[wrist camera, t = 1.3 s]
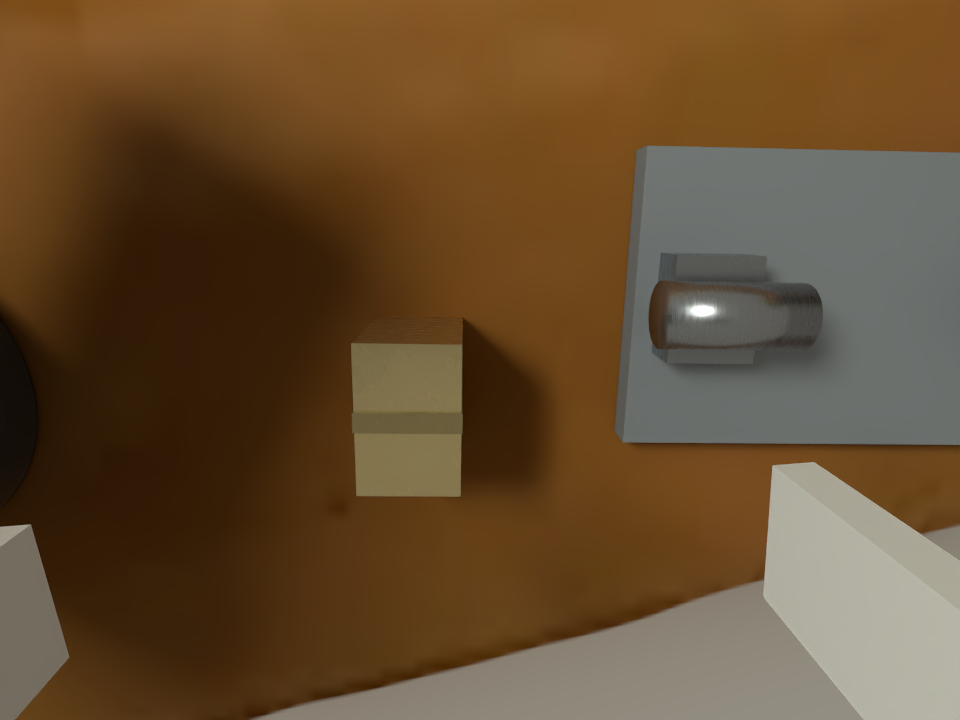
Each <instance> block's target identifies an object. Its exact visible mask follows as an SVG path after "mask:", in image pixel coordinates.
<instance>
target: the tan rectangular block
mask: <svg viewBox="0 0 960 720" xmlns="http://www.w3.org/2000/svg"><path fill="white" fill-rule="evenodd" d="M351 359H352V386H353V411H352V433H354V441H355V468H356V496H448V497H461V446H462V434H463V372H462V360H463V318H444V317H376V318H375V319H374V320H373V321H372V322H371V323H370V324H369V325H368V326H367V327H366V328H365V329H364V330H363V331H362V332H361V333H360V334H359V335H358V336H357V337H356V339H355V340H354V341H353V342H352V343H351Z"/></svg>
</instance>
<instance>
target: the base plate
mask: <svg viewBox="0 0 960 720" xmlns="http://www.w3.org/2000/svg"><path fill="white" fill-rule="evenodd" d="M660 253H716V254H748V255H757V256H766V257H767V263H766V270H765V278H764V282H777V283H808V284H810V285H812V286H813V287H814V288H815V289H816V290H817V292H818V293H819V295H820V298H821V301H822V307H823V321H822V327H821V330H820V333H819V336H818V338H817V340H816V341H815V343H814V344H813V345H812V346H811V347H810V348H808V349H807V350H804V351H768V350H755V351H754V359H753V364H693V363H666V362H664V361H663V360H662V359H660V358H659V357H657V356H656V355H654V354H653V353H651V351H652V341H651V337H650V332H649V323H648V315H649V304H650V299H651V295H652V292H653V289H654V287H655V285H656V284H657V283H658V275H659V264H660ZM615 432H616V434H617V435H618V436H619V438H620V439H621V440H622V442H641V443H777V444H912V445H960V153H943V152H899V151H855V150H811V149H767V148H723V147H679V146H646V147H643V148H641V149H639V150H637V152H636V164H635V177H634V190H633V202H632V215H631V228H630V241H629V253H628V266H627V279H626V292H625V304H624V317H623V330H622V343H621V355H620V368H619V381H618V393H617V406H616V419H615Z"/></svg>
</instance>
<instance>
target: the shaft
mask: <svg viewBox="0 0 960 720" xmlns="http://www.w3.org/2000/svg"><path fill="white" fill-rule="evenodd" d="M766 263H767V257H766V256H757V255H748V254H716V253H660V264H659V275H658V283H657V284H656V285H655V287H654V289H653V292H652V295H651V299H650V304H649V315H648V323H649V332H650V337H651V341H652V351H651V353H653V354H654V355H656V356H657V357H659V358H660V359H662V360H663V361H664V362H666V363H693V364H753V359H754V351H755V350H768V351H804V350H807V349H808V348H810V347H811V346H812V345H813V344H814V343H815V341H816V340H817V338H818V336H819V333H820V330H821V327H822V321H823V307H822V301H821V298H820V295H819V293H818V292H817V290H816V289H815V288H814V287H813V286H812V285H810V284H808V283H777V282H764V278H765V270H766Z"/></svg>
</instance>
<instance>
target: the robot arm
mask: <svg viewBox="0 0 960 720" xmlns="http://www.w3.org/2000/svg"><path fill="white" fill-rule="evenodd" d="M36 432H37V412H36V403H35V396H34V392H33V387H32V383H31V380H30V376H29V373H28V371H27V368H26V365H25V363H24V360H23V358H22V356H21V354H20V352H19V350H18V348H17V346H16V344H15V342H14V340H13V339H12V337H11V336H10V334H9V332H8V331H7V329H6V328H5V326H4V325H3V324H2V322H1V321H0V508H1V507H2V506H3V505H4V504H5V503H6V502H7V501H8V500H9V498H10V497H11V496H12V495H13V493H14V492H15V491H16V490H17V488H18V486H19V485H20V483H21V482H22V480H23V478H24V476H25V474H26V472H27V469H28V467H29V464H30V462H31V458H32V455H33V451H34V446H35V441H36ZM763 597H764V599H765V600H766V601H767V602H768V604H769V605H770V606H771V607H772V608H773V610H774V611H775V612H776V613H777V615H778V616H779V617H780V618H781V619H782V621H783V622H784V623H785V624H786V626H787V627H788V628H789V629H790V630H791V632H792V633H793V634H794V635H795V637H796V638H797V639H798V640H799V641H800V643H801V644H802V645H803V646H804V648H805V649H806V650H807V651H808V652H809V654H810V655H811V656H812V657H813V659H814V660H815V661H816V662H817V663H818V665H819V666H820V667H821V668H822V670H823V671H824V672H825V673H826V674H827V676H828V677H829V678H830V679H831V680H832V682H833V683H834V684H835V685H836V686H837V688H838V689H839V690H840V691H841V693H842V694H843V695H844V696H845V697H846V699H847V700H848V701H849V702H850V704H851V705H852V706H853V707H854V709H855V710H856V711H857V712H858V713H859V715H860V716H861V717H862V718H863V720H960V561H959V560H958V559H956V558H955V557H953V556H952V555H950V554H949V553H948V552H946V551H945V550H943V549H942V548H940V547H939V546H937V545H935V544H934V543H933V542H931V541H930V540H928V539H927V538H925V537H924V536H922V535H921V534H920V533H918V532H917V531H915V530H914V529H912V528H911V527H909V526H908V525H906V524H905V523H903V522H902V521H900V520H899V519H897V518H896V517H894V516H893V515H891V514H890V513H888V512H887V511H886V510H884V509H883V508H881V507H880V506H878V505H877V504H875V503H874V502H872V501H871V500H869V499H868V498H866V497H865V496H863V495H862V494H860V493H859V492H857V491H856V490H855V489H853V488H852V487H850V486H849V485H847V484H846V483H844V482H843V481H841V480H840V479H838V478H837V477H835V476H834V475H832V474H831V473H829V472H828V471H826V470H825V469H823V468H822V467H821V466H819V465H818V464H816V463H815V462H810V463H797V464H785V465H773V467H772V481H771V495H770V509H769V523H768V537H767V551H766V565H765V578H764V593H763ZM68 658H69V654H68V650H67V647H66V644H65V640H64V637H63V633H62V630H61V626H60V623H59V620H58V616H57V613H56V609H55V606H54V602H53V599H52V595H51V592H50V589H49V585H48V582H47V578H46V575H45V571H44V568H43V564H42V561H41V558H40V554H39V551H38V547H37V544H36V540H35V537H34V533H33V530H32V527H31V524H30V525H17V526H5V527H0V720H15V719H16V718H17V717H18V716H19V715H20V714H21V712H22V711H23V710H24V709H25V708H26V707H27V705H28V704H29V703H30V702H31V701H32V700H33V699H34V697H35V696H36V695H37V694H38V693H39V692H40V691H41V689H42V688H43V687H44V686H45V685H46V684H47V682H48V681H49V680H50V679H51V678H52V677H53V676H54V674H55V673H56V672H57V671H58V670H59V669H60V668H61V666H62V665H63V664H64V663H65V662H66V661H67V659H68Z"/></svg>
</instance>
